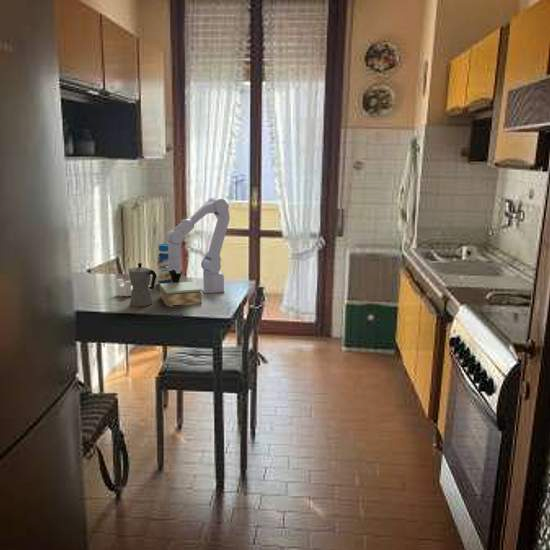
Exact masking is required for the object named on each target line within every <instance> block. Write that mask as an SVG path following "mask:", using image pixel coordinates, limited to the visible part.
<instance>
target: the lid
mask: <svg viewBox="0 0 550 550" xmlns="http://www.w3.org/2000/svg"><path fill="white" fill-rule="evenodd" d="M160 287H161V288H162V289H163V290H164V292H165V293H166V294H173V293H186V292H202V290H201V289H202V288H201V287H199V286H198V285H197V284H196V283H195V282H194V281H191V280H190V281H181V282H180V281H179V282H176V283H162V284H159V294H160V295H161V289H160Z"/></svg>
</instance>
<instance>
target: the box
mask: <svg viewBox="0 0 550 550" xmlns="http://www.w3.org/2000/svg"><path fill="white" fill-rule="evenodd" d="M160 289H161V294H160V299H161V301H162V300H163V301H162V302H163V303H164V305H165V306H166V305H167V306H169V307H174V306H173V305H181V306H189V305H190V306H191V305H192V306H193V305H200V304H201V305H202V302H203V301H202V300H203V299H202V291H200V292H186V293H173V294H166V293H165V292H164V290H163V289H162V288H161V287H160V286H159V290H160ZM167 306H166V307H167Z"/></svg>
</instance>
